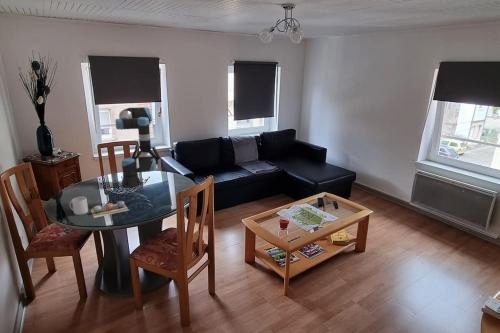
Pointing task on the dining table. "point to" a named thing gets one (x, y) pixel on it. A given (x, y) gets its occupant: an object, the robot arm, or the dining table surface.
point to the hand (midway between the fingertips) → (147, 168)
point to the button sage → (97, 209)
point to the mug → (79, 205)
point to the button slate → (120, 204)
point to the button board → (106, 212)
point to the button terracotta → (109, 206)
